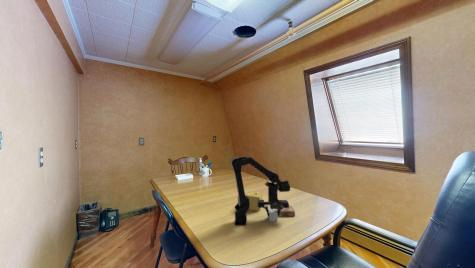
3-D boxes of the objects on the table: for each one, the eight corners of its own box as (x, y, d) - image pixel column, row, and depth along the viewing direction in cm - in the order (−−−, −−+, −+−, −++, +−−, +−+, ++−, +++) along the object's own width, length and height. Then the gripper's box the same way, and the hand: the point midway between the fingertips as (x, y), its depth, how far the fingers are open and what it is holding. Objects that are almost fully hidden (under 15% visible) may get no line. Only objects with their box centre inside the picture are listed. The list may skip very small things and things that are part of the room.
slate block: (269, 221, 117) (269, 213, 117) (268, 217, 122) (268, 209, 122) (277, 221, 117) (277, 213, 116) (276, 217, 122) (276, 209, 121)
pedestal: (280, 215, 123) (280, 211, 123) (278, 209, 132) (278, 205, 132) (294, 216, 123) (294, 211, 123) (291, 210, 132) (291, 205, 132)
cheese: (249, 203, 144) (249, 190, 143) (263, 205, 140) (263, 192, 140) (245, 209, 134) (244, 195, 133) (260, 211, 130) (260, 197, 130)
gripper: (258, 197, 111) (258, 223, 112) (291, 197, 110) (291, 224, 111) (257, 190, 122) (257, 214, 123) (287, 190, 121) (287, 215, 122)
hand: (272, 217), depth 119 cm, fingers closed on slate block, 5 cm apart
